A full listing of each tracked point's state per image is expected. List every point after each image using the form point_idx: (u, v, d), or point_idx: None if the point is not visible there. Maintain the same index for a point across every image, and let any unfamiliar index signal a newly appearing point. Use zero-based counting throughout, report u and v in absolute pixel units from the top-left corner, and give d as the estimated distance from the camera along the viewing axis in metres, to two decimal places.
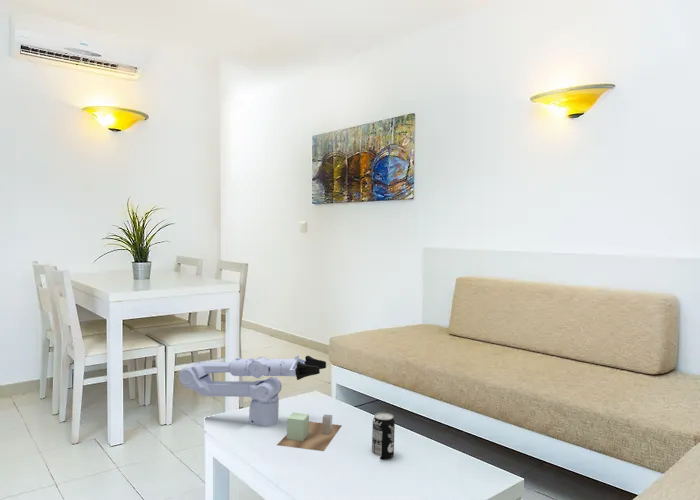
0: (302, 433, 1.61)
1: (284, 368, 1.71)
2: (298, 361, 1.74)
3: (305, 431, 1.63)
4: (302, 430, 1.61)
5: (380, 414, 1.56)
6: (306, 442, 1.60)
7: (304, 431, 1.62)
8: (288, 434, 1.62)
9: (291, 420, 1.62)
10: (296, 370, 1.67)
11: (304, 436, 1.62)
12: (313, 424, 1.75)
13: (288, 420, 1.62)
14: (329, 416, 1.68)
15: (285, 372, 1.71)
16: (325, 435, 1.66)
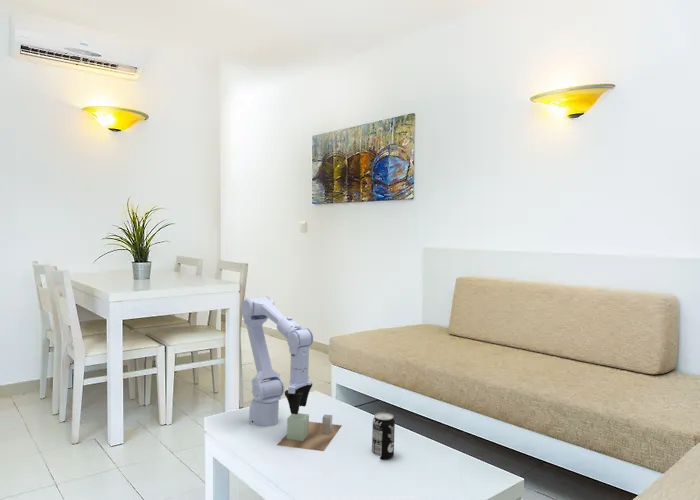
0: (302, 433, 1.61)
1: (297, 373, 1.61)
2: None
3: (305, 431, 1.63)
4: (302, 430, 1.61)
5: (380, 414, 1.56)
6: (306, 442, 1.60)
7: (304, 431, 1.62)
8: (288, 434, 1.62)
9: (291, 420, 1.62)
10: None
11: (304, 436, 1.62)
12: (313, 424, 1.75)
13: (288, 420, 1.62)
14: (329, 416, 1.68)
15: (293, 373, 1.61)
16: (325, 435, 1.66)
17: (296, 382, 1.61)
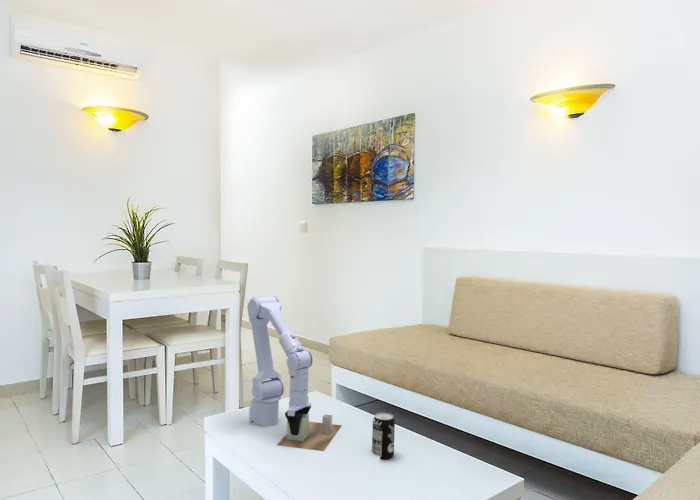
0: (302, 433, 1.61)
1: (296, 395, 1.61)
2: None
3: (305, 431, 1.63)
4: (302, 430, 1.61)
5: (380, 414, 1.56)
6: (306, 442, 1.60)
7: (304, 431, 1.62)
8: (288, 434, 1.62)
9: None
10: (294, 415, 1.59)
11: (304, 436, 1.62)
12: (313, 424, 1.75)
13: None
14: (329, 416, 1.68)
15: (292, 395, 1.61)
16: (325, 435, 1.66)
17: (295, 404, 1.61)
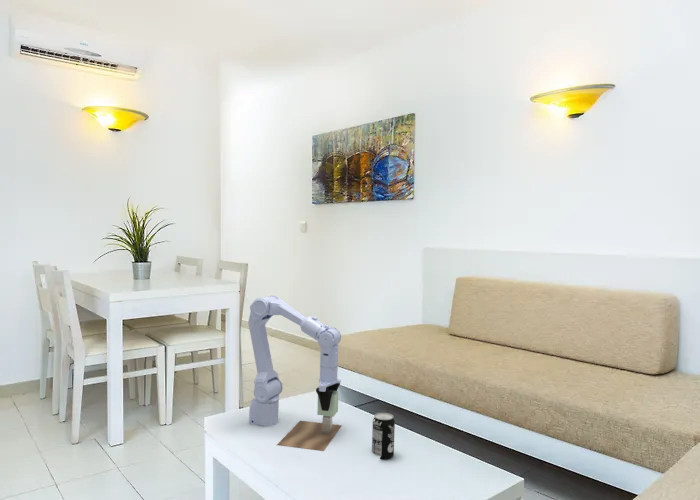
0: (333, 409, 1.65)
1: (327, 371, 1.65)
2: None
3: (335, 407, 1.67)
4: (333, 406, 1.65)
5: (380, 414, 1.56)
6: (306, 442, 1.60)
7: (335, 407, 1.66)
8: (319, 410, 1.66)
9: None
10: (325, 390, 1.62)
11: (334, 412, 1.66)
12: (313, 424, 1.75)
13: None
14: (329, 416, 1.68)
15: (323, 372, 1.65)
16: (325, 435, 1.66)
17: (326, 380, 1.65)
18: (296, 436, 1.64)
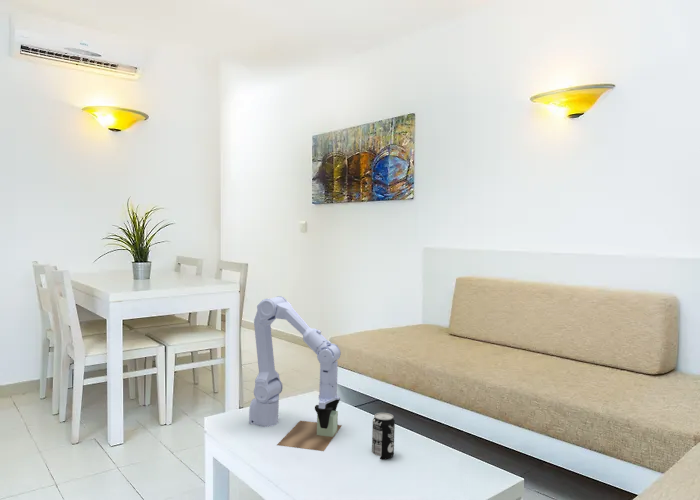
0: (332, 429, 1.65)
1: (326, 388, 1.65)
2: None
3: (334, 428, 1.67)
4: (332, 426, 1.65)
5: (380, 414, 1.56)
6: (306, 442, 1.60)
7: (334, 427, 1.66)
8: (318, 430, 1.66)
9: None
10: None
11: (334, 432, 1.66)
12: (313, 424, 1.75)
13: None
14: None
15: (322, 388, 1.65)
16: None
17: (325, 397, 1.65)
18: (296, 436, 1.64)
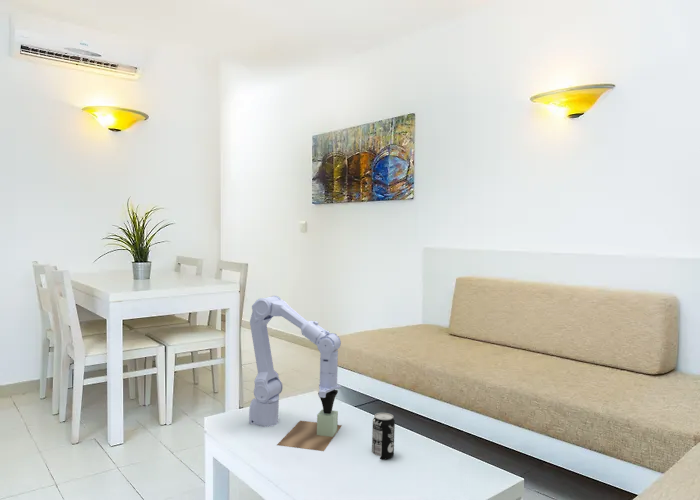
0: (332, 429, 1.65)
1: (327, 377, 1.65)
2: None
3: (334, 428, 1.67)
4: (332, 426, 1.65)
5: (380, 414, 1.56)
6: (306, 442, 1.60)
7: (334, 427, 1.66)
8: (318, 430, 1.66)
9: (321, 417, 1.66)
10: (327, 394, 1.65)
11: (334, 432, 1.66)
12: (313, 424, 1.75)
13: (318, 416, 1.66)
14: None
15: (323, 377, 1.65)
16: None
17: (326, 386, 1.65)
18: (296, 436, 1.64)
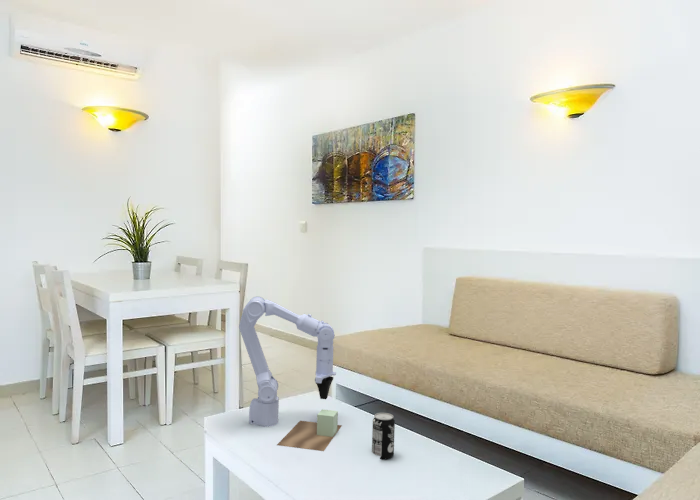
0: (332, 429, 1.65)
1: (323, 364, 1.74)
2: None
3: (334, 428, 1.67)
4: (332, 426, 1.65)
5: (380, 414, 1.56)
6: (306, 442, 1.60)
7: (334, 427, 1.66)
8: (318, 430, 1.66)
9: (321, 417, 1.66)
10: (323, 380, 1.75)
11: (334, 432, 1.66)
12: (313, 424, 1.75)
13: (318, 416, 1.66)
14: None
15: (319, 364, 1.75)
16: None
17: (322, 373, 1.75)
18: (296, 436, 1.64)
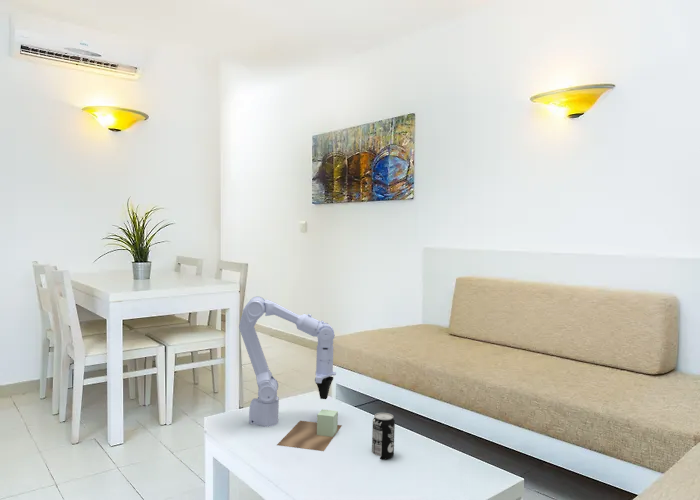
0: (332, 429, 1.65)
1: (323, 364, 1.74)
2: None
3: (334, 428, 1.67)
4: (332, 426, 1.65)
5: (380, 414, 1.56)
6: (306, 442, 1.60)
7: (334, 427, 1.66)
8: (318, 430, 1.66)
9: (321, 417, 1.66)
10: (323, 380, 1.75)
11: (334, 432, 1.66)
12: (313, 424, 1.75)
13: (318, 416, 1.66)
14: None
15: (319, 364, 1.75)
16: None
17: (322, 373, 1.75)
18: (296, 436, 1.64)
